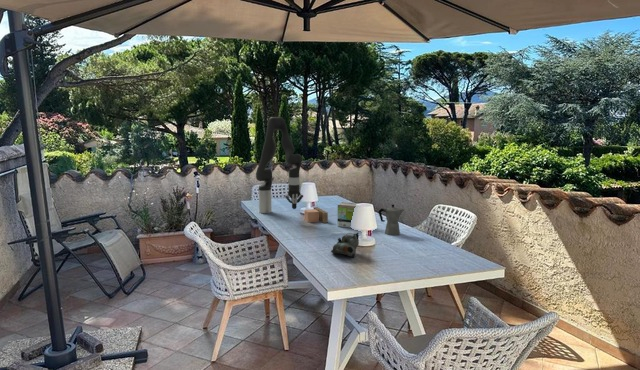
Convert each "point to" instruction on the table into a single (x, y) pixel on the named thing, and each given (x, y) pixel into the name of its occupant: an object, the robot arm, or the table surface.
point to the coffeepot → (391, 220)
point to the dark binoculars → (347, 245)
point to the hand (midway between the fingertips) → (294, 208)
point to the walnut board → (322, 215)
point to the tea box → (345, 214)
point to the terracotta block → (311, 215)
